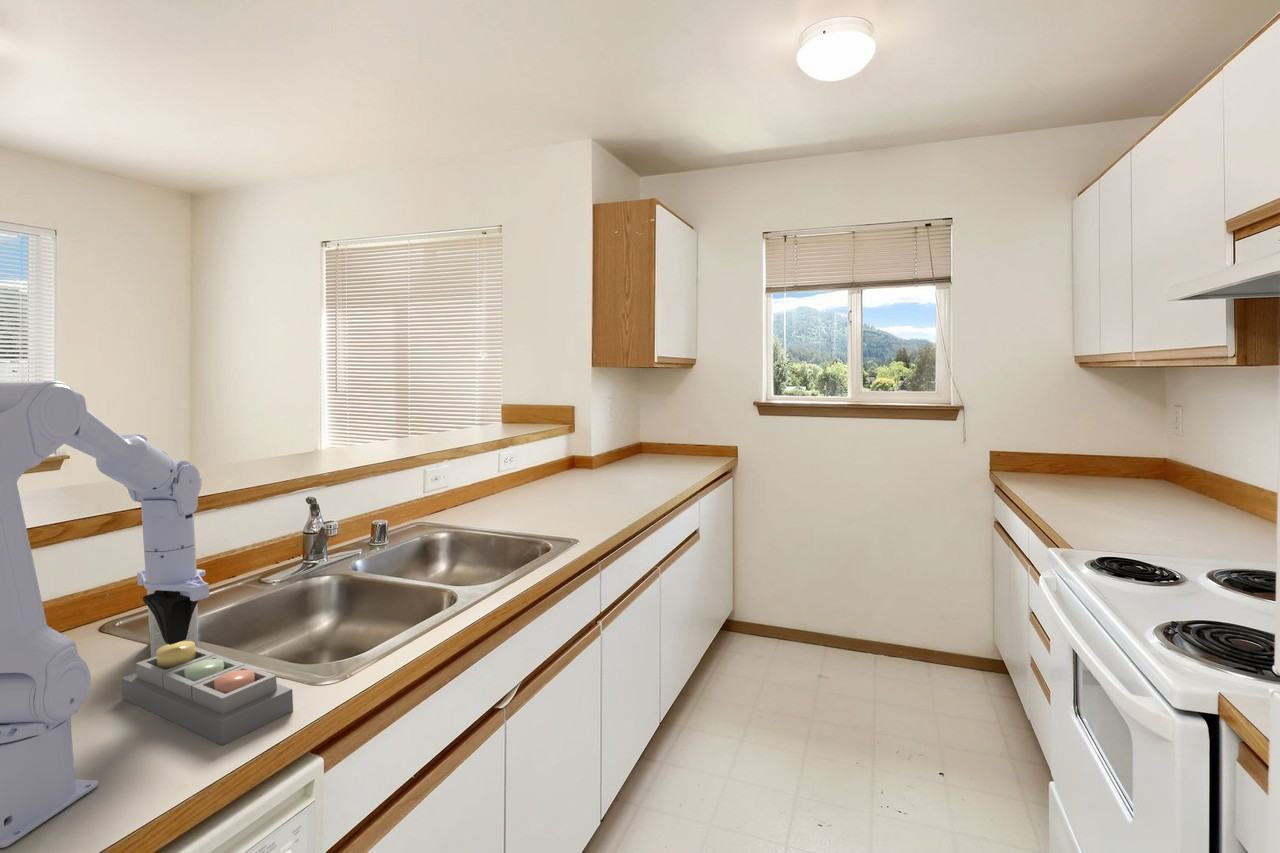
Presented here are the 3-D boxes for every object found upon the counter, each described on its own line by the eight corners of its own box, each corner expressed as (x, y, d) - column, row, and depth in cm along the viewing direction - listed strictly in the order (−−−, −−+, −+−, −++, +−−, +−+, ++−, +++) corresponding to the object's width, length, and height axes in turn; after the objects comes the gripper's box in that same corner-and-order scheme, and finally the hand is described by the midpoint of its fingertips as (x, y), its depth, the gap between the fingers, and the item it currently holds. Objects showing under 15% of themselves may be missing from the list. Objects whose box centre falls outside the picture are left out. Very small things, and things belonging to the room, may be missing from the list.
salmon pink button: (262, 688, 83) (261, 674, 83) (227, 704, 79) (226, 688, 79) (242, 681, 85) (241, 667, 85) (207, 695, 81) (206, 681, 81)
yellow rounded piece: (202, 658, 89) (201, 644, 89) (167, 671, 86) (166, 656, 85) (185, 652, 91) (184, 638, 91) (150, 664, 88) (149, 650, 87)
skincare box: (150, 643, 106) (144, 552, 104) (197, 633, 110) (192, 545, 109) (150, 660, 99) (144, 563, 98) (201, 649, 103) (196, 556, 102)
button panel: (293, 710, 84) (291, 674, 84) (222, 745, 76) (220, 705, 76) (193, 671, 95) (191, 640, 95) (123, 698, 87) (120, 663, 87)
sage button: (231, 677, 86) (230, 663, 86) (196, 691, 82) (195, 676, 82) (213, 670, 88) (212, 656, 88) (178, 683, 84) (177, 669, 84)
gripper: (230, 546, 87) (235, 640, 88) (174, 534, 94) (179, 622, 95) (173, 559, 81) (179, 660, 82) (117, 545, 88) (124, 639, 89)
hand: (175, 641), depth 88 cm, fingers closed
